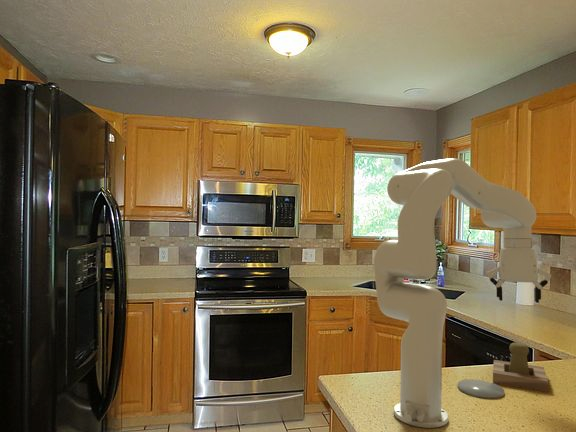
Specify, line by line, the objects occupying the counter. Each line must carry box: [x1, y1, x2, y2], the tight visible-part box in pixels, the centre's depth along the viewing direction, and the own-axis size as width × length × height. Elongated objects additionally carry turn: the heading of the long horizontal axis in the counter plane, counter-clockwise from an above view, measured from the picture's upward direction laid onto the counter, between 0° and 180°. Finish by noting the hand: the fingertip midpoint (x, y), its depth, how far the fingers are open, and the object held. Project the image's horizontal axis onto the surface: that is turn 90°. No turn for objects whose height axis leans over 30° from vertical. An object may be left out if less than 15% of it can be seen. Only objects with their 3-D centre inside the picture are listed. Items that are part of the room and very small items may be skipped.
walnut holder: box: [492, 359, 549, 393], centre depth 128 cm, size 14×14×3 cm
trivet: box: [457, 378, 505, 400], centre depth 120 cm, size 12×12×1 cm
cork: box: [509, 342, 530, 375], centre depth 128 cm, size 6×6×11 cm
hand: (518, 300), depth 127 cm, fingers open, 9 cm apart
